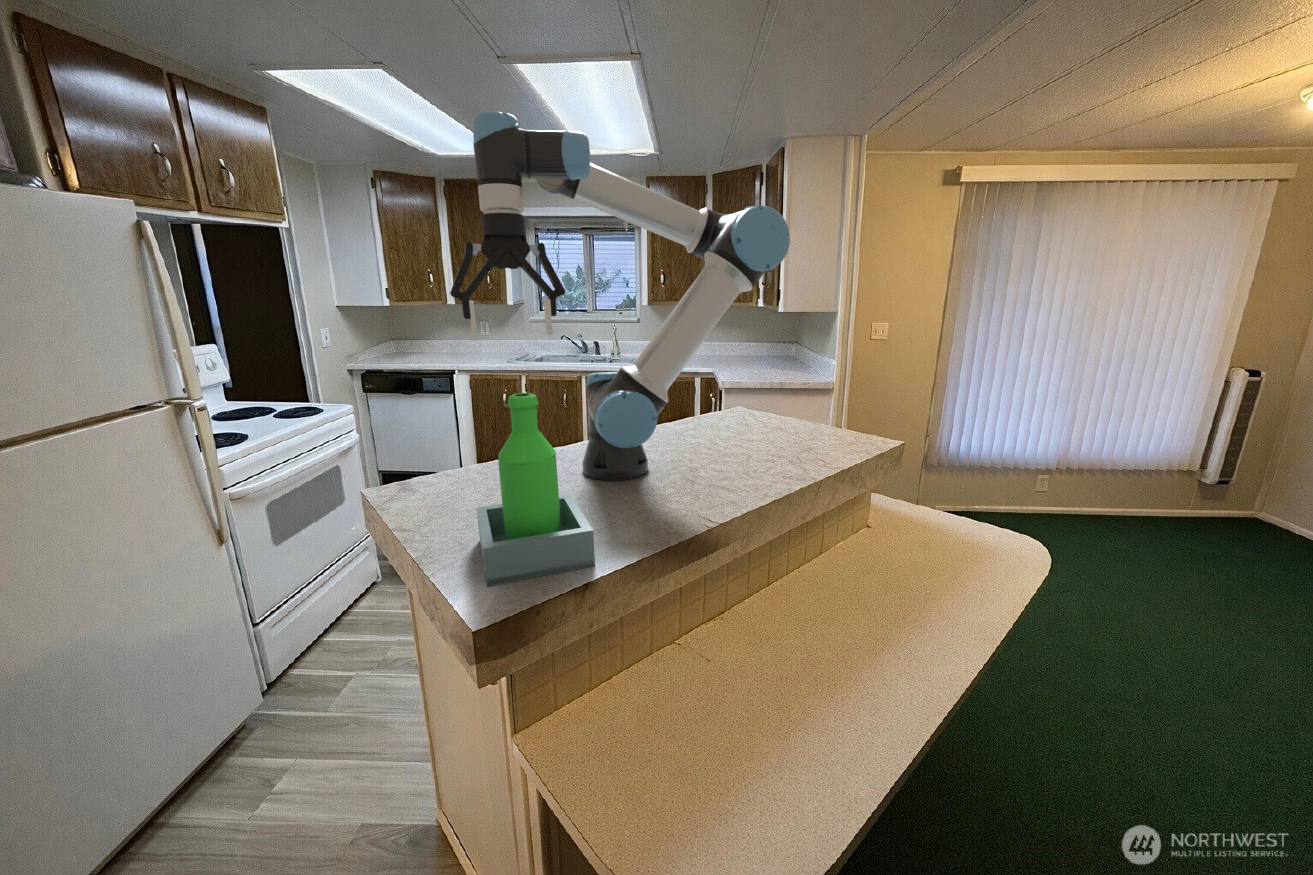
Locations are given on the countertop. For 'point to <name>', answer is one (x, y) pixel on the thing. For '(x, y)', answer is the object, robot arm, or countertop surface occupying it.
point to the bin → (534, 545)
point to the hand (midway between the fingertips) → (512, 336)
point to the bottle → (528, 474)
